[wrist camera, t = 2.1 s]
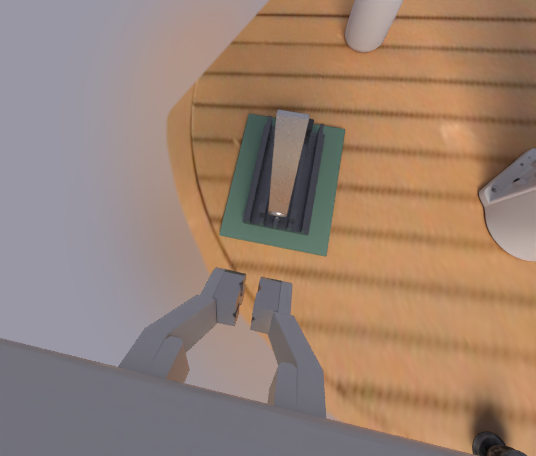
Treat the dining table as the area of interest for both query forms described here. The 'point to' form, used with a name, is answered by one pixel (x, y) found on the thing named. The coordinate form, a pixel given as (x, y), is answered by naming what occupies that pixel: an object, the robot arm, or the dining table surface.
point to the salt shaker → (492, 446)
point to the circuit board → (322, 201)
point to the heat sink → (302, 188)
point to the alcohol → (370, 23)
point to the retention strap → (286, 159)
